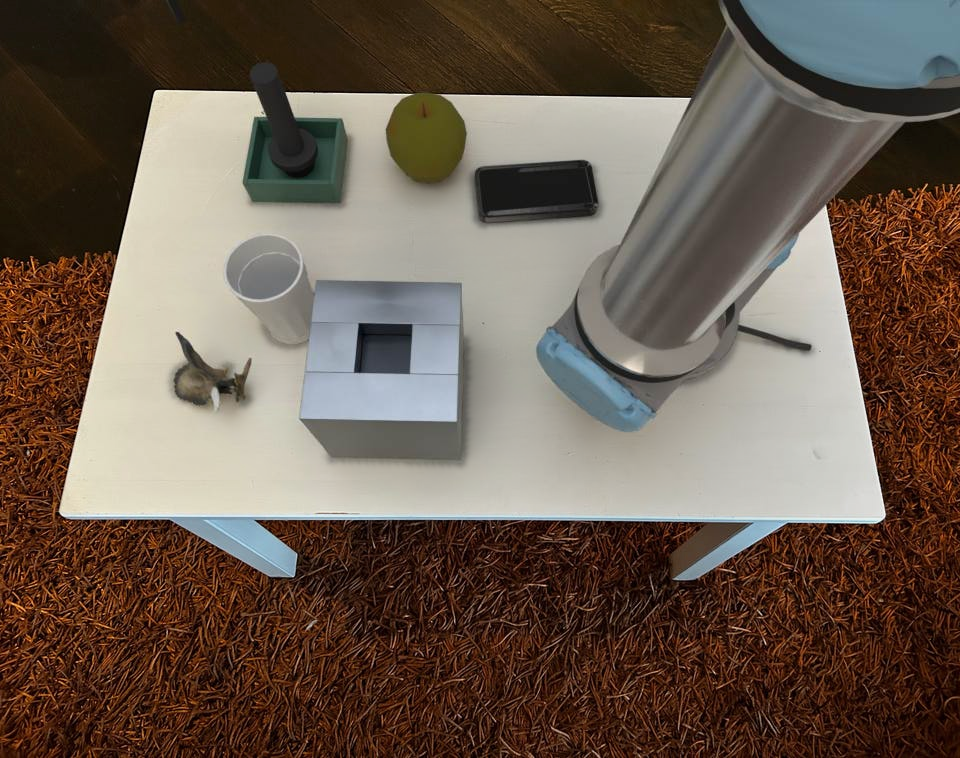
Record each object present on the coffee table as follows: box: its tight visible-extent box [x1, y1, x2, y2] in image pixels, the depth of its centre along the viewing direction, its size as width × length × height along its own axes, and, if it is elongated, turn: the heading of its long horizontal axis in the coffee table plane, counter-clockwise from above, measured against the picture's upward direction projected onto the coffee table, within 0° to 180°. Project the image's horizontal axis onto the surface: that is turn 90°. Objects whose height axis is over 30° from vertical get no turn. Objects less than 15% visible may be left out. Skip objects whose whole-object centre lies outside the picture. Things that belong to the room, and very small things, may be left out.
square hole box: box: [298, 279, 465, 461], centre depth 66 cm, size 14×14×14 cm
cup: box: [222, 232, 315, 345], centre depth 71 cm, size 8×8×12 cm
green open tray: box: [241, 116, 348, 204], centre depth 82 cm, size 11×10×4 cm
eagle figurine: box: [173, 331, 252, 413], centre depth 71 cm, size 8×7×9 cm
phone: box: [474, 159, 599, 223], centre depth 82 cm, size 8×1×15 cm
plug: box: [249, 61, 318, 178], centre depth 76 cm, size 6×6×15 cm
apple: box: [385, 91, 468, 184], centre depth 79 cm, size 10×10×11 cm
